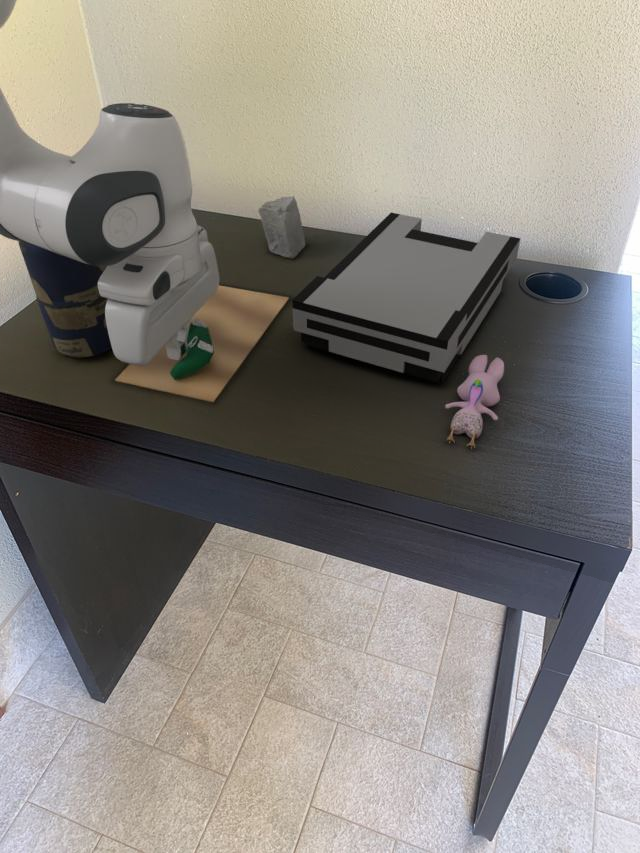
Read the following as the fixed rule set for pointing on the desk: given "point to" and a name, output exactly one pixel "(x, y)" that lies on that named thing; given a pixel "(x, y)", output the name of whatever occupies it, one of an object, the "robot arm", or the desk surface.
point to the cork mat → (213, 344)
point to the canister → (68, 301)
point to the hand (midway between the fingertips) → (178, 354)
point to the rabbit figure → (476, 397)
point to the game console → (405, 297)
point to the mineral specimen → (283, 226)
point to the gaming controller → (195, 351)
